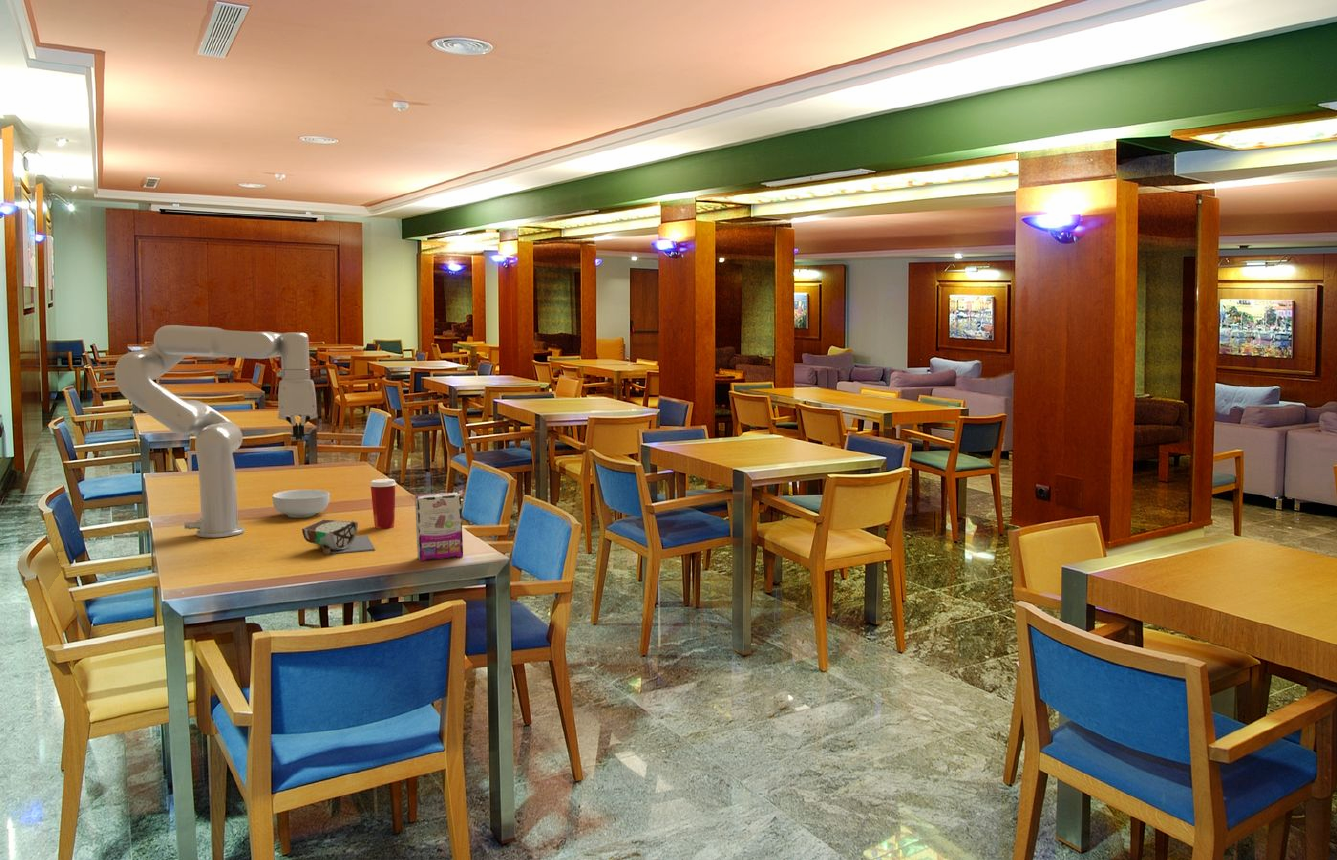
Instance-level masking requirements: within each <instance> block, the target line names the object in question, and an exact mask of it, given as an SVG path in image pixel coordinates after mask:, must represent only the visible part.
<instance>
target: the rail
mask: <svg viewBox="0 0 1337 860" xmlns="http://www.w3.org/2000/svg"><path fill="white" fill-rule="evenodd" d="M320 546H321V548H322V551H323V555H327V556H328V555H331V552H330V547H329V546H324V545H320Z"/></svg>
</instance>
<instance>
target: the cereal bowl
mask: <svg viewBox="0 0 1337 860" xmlns="http://www.w3.org/2000/svg"><path fill="white" fill-rule="evenodd" d="M330 496H331V495H330V492H329V491H326V490H321V489H292V490H285V491H279V492H276V493H274V494H273V495H272V498H271V499H272V504H273V507H274V509H275V510H276V511H277V512H279V513H280V514H283V515H287V516H288V517H289V518H295V519H296V518H297V519H301V518H309V517H314V516H315V515H317V514H319V513H320V512H322V511H324V510H325V509H326V508H327V507H328V506H329V503H330V498H331V497H330Z"/></svg>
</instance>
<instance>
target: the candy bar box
mask: <svg viewBox="0 0 1337 860" xmlns="http://www.w3.org/2000/svg"><path fill="white" fill-rule="evenodd" d="M414 502H415V503H414V505H415V525H416V526H415V527H416V528H415V529H416V532H415V533H416V548H417V550H416V552H417V558H418V559H419V561H420V562H425V561H436V560H446V559H455V558H463V557H464V546H463V543H464V542H463V541H464V540H463V517H462V516H463V514H462V496H461V494H460V493H459V492H445V493H434V494H421V495H415V496H414Z"/></svg>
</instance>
